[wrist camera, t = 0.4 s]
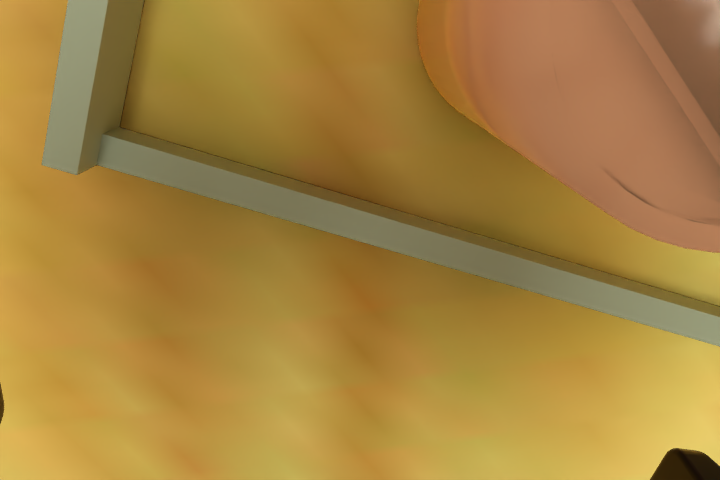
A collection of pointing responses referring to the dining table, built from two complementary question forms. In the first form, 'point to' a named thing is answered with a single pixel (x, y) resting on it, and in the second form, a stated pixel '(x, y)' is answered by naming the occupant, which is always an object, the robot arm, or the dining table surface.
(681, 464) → the robot arm
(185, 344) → the dining table surface
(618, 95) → the pink cup
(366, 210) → the cold frame
